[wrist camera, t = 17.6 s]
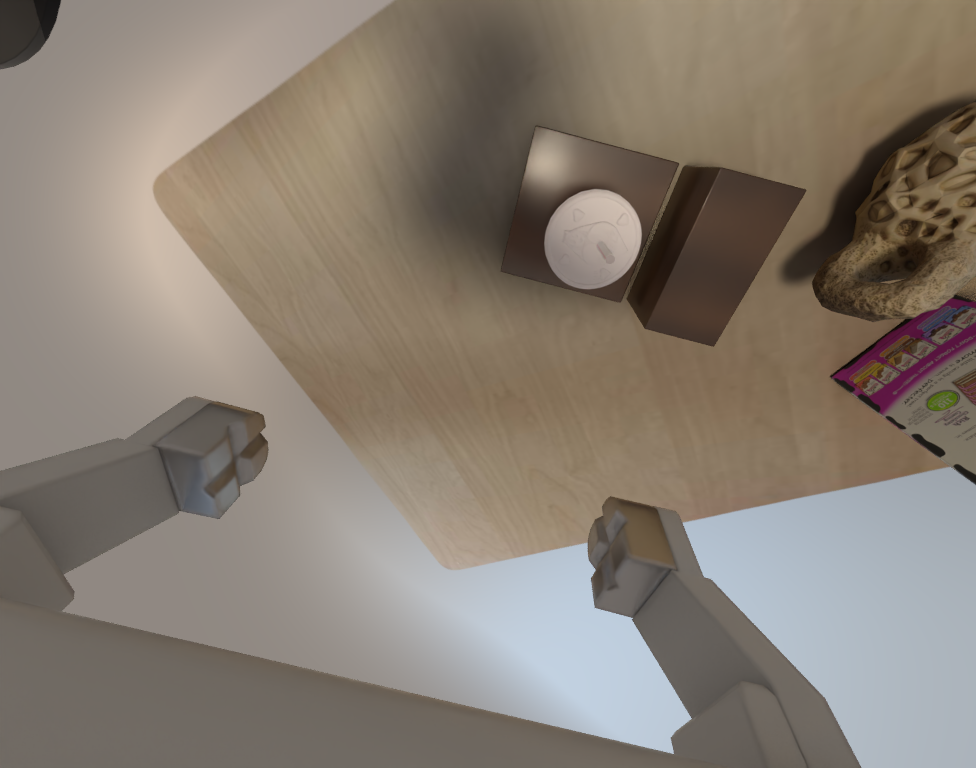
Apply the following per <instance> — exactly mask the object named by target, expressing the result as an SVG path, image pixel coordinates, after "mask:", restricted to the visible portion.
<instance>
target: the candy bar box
mask: <svg viewBox="0 0 976 768" xmlns="http://www.w3.org/2000/svg"><path fill="white" fill-rule="evenodd" d="M832 379H833V380H834V381H835V382H837V383H838V384H839V385H840V386H842V387H843V388H844V389H846V390H847V391H848V392H849V393H851V394H852V395H853V396H855V397H856V398H857V399H859V400H860V401H861V402H862V403H864V404H865V405H867V406H868V407H869V408H871V409H872V410H873V411H875V412H876V413H878V414H879V415H880V416H882V417H883V418H884V419H886V420H887V421H888V422H890V423H891V424H892V425H894V426H895V427H897V428H898V429H899V430H901V431H902V432H904V433H905V434H906V435H908V436H909V437H910V438H912V439H913V440H914V441H916V442H917V443H919V444H920V445H921V446H923V447H924V448H926V449H927V450H928V451H930V452H931V453H932V454H934V455H935V456H936V457H938V458H939V459H940V460H942V461H943V462H945V463H946V464H947V465H949V466H950V467H952V468H953V469H954V470H956V471H957V472H958V473H960V474H961V475H963V476H964V477H965V478H967V479H968V480H970V481H971V482H973V483H974V484H975V485H976V302H975V301H972V300H969V299H966V298H963V297H960V296H957V295H954V297H952V298H951V299H949V300H948V301H947V302H946V303H944V304H943V305H942V306H941V307H940V308H939V309H935V310H931V311H928V312H924V313H921V314H920V315H918V316H917V317H915V318H913V319H907V320H906V321H905V322H903V323H902V324H901V325H899V326H898V327H897V328H896V329H894V330H893V331H892V332H890V333H889V334H888V335H886V336H885V337H884V338H883V339H881V340H880V341H879V342H877V343H876V344H875V345H873V346H872V347H871V348H870V349H868V350H867V351H866V352H864V353H863V354H862V355H861V356H859V357H858V358H857V359H855V360H854V361H853V362H851V363H850V364H849V365H847V366H846V367H845V368H843V369H842V370H841V371H839V372H838V373H837V374H835V375H834V376H833V377H832Z"/></svg>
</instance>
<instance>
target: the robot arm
mask: <svg viewBox="0 0 976 768" xmlns="http://www.w3.org/2000/svg"><path fill="white" fill-rule="evenodd" d="M264 428H265V420H264V416H263V415H262V414H260V413H258V412H255V411H251V410H247V409H243V408H240V407H236V406H232V405H228V404H225V403H221V402H215V401H211V400H207V399H204V398H200V397H196V396H194V397H189V398H186V399H185V400H183V401H181V402H180V403H178V404H177V405H176V406H174V407H173V408H171V409H170V410H168V411H167V412H165V413H164V414H162V415H161V416H159V417H158V418H156V419H155V420H153V421H152V422H150V423H149V424H147V425H146V426H145V427H143V428H142V429H140V430H139V431H137V432H136V433H134V434H133V435H131V436H130V437H128V438H127V439H125V440H123V439H118V438H117V439H113V440H109V441H106V442H103V443H99V444H95V445H91V446H88V447H84V448H81V449H77V450H74V451H70V452H66V453H63V454H59V455H56V456H52V457H49V458H45V459H42V460H38V461H34V462H31V463H28V464H24V465H20V466H16V467H13V468H9V469H6V470H3V471H0V768H861V766H860V764H859V762H858V760H857V759H856V757H855V755H854V753H853V751H852V749H851V747H850V745H849V743H848V742H847V739H846V738H845V736H844V734H843V732H842V730H841V728H840V726H839V724H838V722H837V721H836V718H835V717H834V715H833V713H832V711H831V709H830V707H829V705H828V703H827V701H826V699H825V698H824V697H823V696H822V695H821V694H820V693H819V692H818V691H817V690H816V689H815V687H814V686H813V685H811V683H810V682H808V680H807V679H806V678H805V677H804V676H803V675H802V674H801V673H800V672H799V671H798V670H797V669H796V668H795V667H794V666H793V665H792V663H791V662H790V661H789V660H788V659H787V658H786V657H785V656H784V655H783V654H782V653H781V652H780V651H779V650H778V649H777V648H776V647H775V646H774V645H773V644H772V643H771V642H770V640H769V639H767V637H766V636H765V635H764V634H763V633H762V632H761V631H760V630H759V629H758V628H757V627H756V626H755V625H754V624H753V623H752V622H751V621H750V620H749V619H748V618H747V617H746V615H745V614H744V613H743V612H742V611H741V610H740V609H739V608H738V607H737V606H736V605H735V604H734V603H733V602H732V601H731V600H730V599H729V598H728V597H727V596H726V595H725V594H724V592H722V591H721V589H720V588H718V587H717V585H716V584H715V583H714V582H713V581H712V580H711V579H708V578H704V576H703V574H702V572H701V569H700V566H699V564H698V561H697V559H696V556H695V554H694V551H693V549H692V546H691V544H690V541H689V539H688V537H687V534H686V531H685V529H684V526H683V524H682V521H681V518H680V516H679V515H678V514H677V512H676V511H673V510H669V509H664V508H660V507H656V506H650V505H646V504H642V503H637V502H633V501H629V500H624V499H620V498H616V497H611V496H610V497H609V498H608V499H606V501H605V502H604V504H603V506H602V511H603V516H601V517H599V518H597V519H595V521H594V523H593V525H592V527H591V529H590V533H589V538H588V557H589V561H590V562H591V564H592V565H593V566H594V568H595V569H596V571H595V573H594V574H593V576H592V578H591V582H592V590H593V598H594V605H595V608H598V609H601V610H605V611H609V612H613V613H616V614H620V615H624V616H628V617H631V618H633V619H632V620H633V622H634V624H635V625H636V627H637V629H638V630H639V632H640V634H641V635H642V637H643V639H644V640H645V642H646V644H647V645H648V647H649V648H650V650H651V652H652V653H653V655H654V657H655V658H656V660H657V661H658V663H659V665H660V667H661V668H662V670H663V672H664V673H665V675H666V676H667V678H668V680H669V681H670V683H671V685H672V686H673V688H674V689H675V691H676V693H677V695H678V696H679V698H680V700H681V701H682V703H683V704H684V706H685V708H686V709H687V711H688V713H689V715H690V716H691V718H692V719H691V720H690V721H689V722H687V723H686V724H685V725H684V726H682V727H681V728H680V729H679V730H677V731H676V732H675V733H674V735H673V736H672V737H671V741H672V745H673V750H674V754H671V753H666V752H662V751H658V750H653V749H649V748H645V747H641V746H637V745H632V744H628V743H624V742H619V741H615V740H610V739H607V738H602V737H598V736H594V735H589V734H585V733H581V732H576V731H572V730H568V729H564V728H559V727H555V726H550V725H547V724H542V723H538V722H533V721H529V720H525V719H521V718H517V717H512V716H508V715H504V714H499V713H495V712H491V711H486V710H482V709H478V708H474V707H469V706H465V705H461V704H457V703H452V702H448V701H443V700H439V699H435V698H430V697H427V696H422V695H418V694H413V693H409V692H405V691H401V690H397V689H392V688H388V687H384V686H379V685H375V684H371V683H367V682H362V681H358V680H353V679H349V678H345V677H341V676H337V675H332V674H328V673H324V672H319V671H315V670H311V669H307V668H302V667H297V666H293V665H289V664H285V663H281V662H276V661H272V660H268V659H264V658H259V657H255V656H251V655H246V654H242V653H238V652H234V651H229V650H225V649H221V648H216V647H212V646H208V645H204V644H199V643H194V642H191V641H186V640H182V639H178V638H173V637H169V636H165V635H161V634H156V633H152V632H148V631H143V630H139V629H134V628H131V627H126V626H122V625H117V624H113V623H109V622H105V621H100V620H96V619H92V618H87V617H83V616H79V615H75V614H70V613H66V612H62V610H63V609H64V608H65V607H66V606H67V605H68V604H69V603H70V602H71V601H72V600H73V599H74V590H73V589H72V587H71V586H70V584H69V583H68V582H67V580H66V578H65V577H64V575H63V574H65V573H67V572H69V571H71V570H73V569H74V568H76V567H78V566H80V565H82V564H84V563H86V562H88V561H90V560H91V559H93V558H95V557H97V556H99V555H101V554H103V553H105V552H107V551H108V550H110V549H112V548H114V547H116V546H118V545H120V544H122V543H124V542H125V541H127V540H129V539H131V538H133V537H135V536H137V535H139V534H141V533H142V532H144V531H146V530H148V529H150V528H152V527H154V526H156V525H158V524H159V523H161V522H163V521H165V520H167V519H169V518H171V517H173V516H175V515H177V514H178V513H179V511H183V512H187V513H192V514H198V515H202V516H207V517H212V518H217V519H220V517H221V516H222V515H223V514H224V513H225V512H226V511H227V510H228V509H229V507H230V506H231V505H232V504H233V503H234V502H235V501H236V500H237V498H238V497H239V496H240V486H242V485H244V484H246V483H249V482H251V481H253V480H254V479H255V478H256V477H257V475H258V474H259V473H260V472H261V470H262V468H263V466H264V464H265V462H266V460H267V456H268V442H267V440H266V439H265V438H264V437H263V436H262V434H261V433H260V432H261V431H262V430H263V429H264Z"/></svg>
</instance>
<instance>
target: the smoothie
mask: <svg viewBox="0 0 976 768" xmlns="http://www.w3.org/2000/svg"><path fill="white" fill-rule="evenodd" d="M641 237H642V232H641V224H640V221H639V218H638V215H637V213H636V212H635V210H634V209H633V207H632V206H631V205H630V203H629V202H628V201H626V200H625V199H624V198H623V197H621V196H620V195H619V194H616V193H614V192H611V191H609V190H601V189H592V190H587V191H582V192H580V193H578V194H576V195H574V196H572V197H570V198H568V199H567V200H566V201H565V202H564V203H562V204H561V205H560V206H559V207H558V208H557V210H556V211H555V213H554V214H553V215H552V217H551V218H550V221H549V224H548V226H547V229H546V233H545V240H544V246H545V254H546V257H547V260H548V263H549V265H550V267H551V269H552V270H553V272H554V273H555V274H556V276H557V277H558V278H559V279H561V280H562V281H563V282H565V283H566V284H568V285H570V286H573V287H576V288H580V289H596V288H601V287H604V286H607V285H609V284H611V283H613V282H615V281H616V280H618V279H619V278H620V277H622V276H623V275H624V274H625V273H626V272H627V271H628V270H629V268H630V267H631V266H632V264H633V263H634V261H635V259H636V257H637V255H638V252H639V249H640V245H641Z"/></svg>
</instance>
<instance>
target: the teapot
mask: <svg viewBox="0 0 976 768" xmlns="http://www.w3.org/2000/svg"><path fill="white" fill-rule="evenodd" d="M855 214H856V217H857V219H856V224H855V229H854V234H853V239H852V242H851V243H849V244H848V245H847V246H846V247H844V248H843V249H842V250H841V251H839V252H837V253H835V254H833V255H831V256H830V257H829V258H828V259H827V260H826V261H825V262H824V263H823V265H822V266H821V267H820V269H819V270H818V272H817V273H816V275H815V277H814V279H813V281H812V285H813V289H814V293H815V296H816V298H817V299H818V300H819V302H820V303H821V305H822V306H823V307H825V308H827V309H829V310H831V311H834V312H837V313H841V314H845V315H849V316H854V317H858V318H861V319H865V320H868V321H872V322H875V321H880V320H885V319H913V318H915V317H917V316H918V315H920V314H921V313H924V312H928V311H931V310H935V309H939V308H940V307H941V306H942V305H943V304H944V303H946V302H947V301H948V300H949V299H951V298H952V297H954V295H955V294H956V293H957V292H958V291H959V290H960V289H961V288H962V287H963V286H965V285H966V284H967V283H968V282H969V281H970V280H971V279H972V278H974V277H975V276H976V102H974V103H971V104H969V105H967V106H965V107H963V108H961V109H959V110H958V111H956V112H954V113H952V114H951V115H949V116H947V117H946V118H944V119H943V120H942V121H940V122H939V123H937V124H936V125H934V126H933V127H931V128H930V129H928V130H927V131H926V132H924V133H923V134H922V135H920V136H919V137H918V138H916V139H915V140H913V141H912V142H910V143H909V144H908V145H906V146H905V147H902V148H899V149H898V150H897V151H895V152H894V153H893V154H891V156H890V157H889V158H888V160H887V161H886V162H885V164H884V165H883V166H882V168H881V170H880V171H879V173H878V174H877V176H876V178H875V179H874V182H873V186H872V190H871V193H870V194H869V196H868V197H867V198H866V199H865V201H864V202H863V203H862V204H861V206H860V207H859V208H858V210H857V211H856V212H855ZM898 279H904V280H901V281H898V282H895V283H892V284H887V283H880V282H885V281H890V280H898Z"/></svg>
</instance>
